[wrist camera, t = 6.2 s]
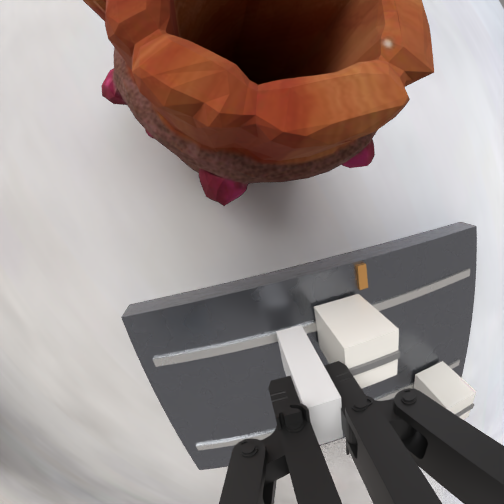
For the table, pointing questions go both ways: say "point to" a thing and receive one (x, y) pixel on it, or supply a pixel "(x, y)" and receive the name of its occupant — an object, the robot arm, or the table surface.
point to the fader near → (358, 339)
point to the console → (302, 313)
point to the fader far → (446, 389)
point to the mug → (264, 81)
